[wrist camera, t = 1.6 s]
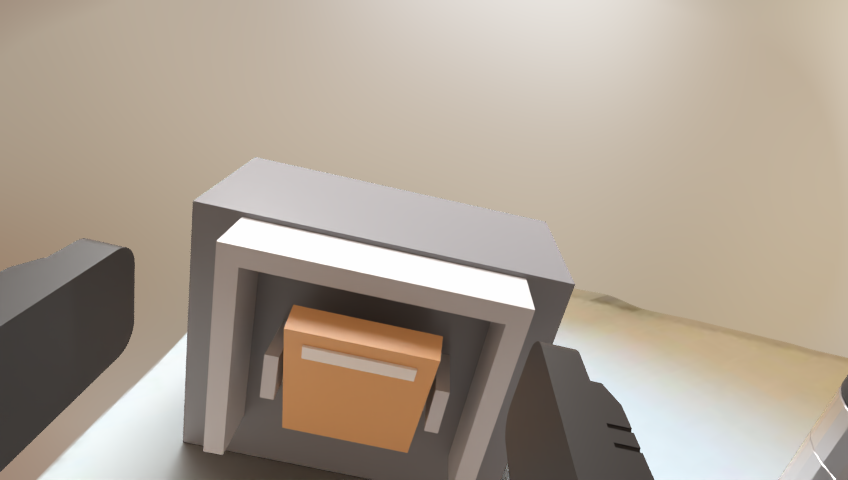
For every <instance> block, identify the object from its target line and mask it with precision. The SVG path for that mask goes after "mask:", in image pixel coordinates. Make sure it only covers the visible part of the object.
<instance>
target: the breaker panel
mask: <svg viewBox="0 0 848 480" xmlns="http://www.w3.org/2000/svg"><path fill="white" fill-rule="evenodd" d="M191 237H192V238H191V260H190V285H189V309H188V333H187V357H186V381H185V405H184V430H183V442H186V443H191V444H196V445H201V446H204V447H203V451H204V452H209V453H214V454H219V455H223V454H224V452H225V450H226V451H231V452H236V453H241V454H246V455H251V456H256V457H261V458H266V459H271V460H276V461H281V462H286V463H291V464H296V465H301V466H306V467H311V468H316V469H321V470H326V471H331V472H336V473H341V474H346V475H351V476H356V477H361V478H366V479H371V480H501V479H502V476H503V474H504V471H505V468H506V466H507V463H508V459H507V451H506V443H505V429H506V421H507V415H508V411H509V407H510V404H511V402H512V399H513V396H514V393H515V391H516V388H517V385H518V382H519V379H520V377H521V374H522V371H523V368H524V366H525V363H526V360H527V357H528V355H529V352H530V350H531V348H532V346H533V344H534V343H535V342H537V341H539V342H544V343H548V344H553V341H554V339H555V336H556V333H557V331H558V328H559V325H560V323H561V320H562V318H563V315H564V312H565V310H566V307H567V304H568V302H569V299H570V296H571V294H572V291H573V288H574V286H575V283H574V281H573V279H572V277H571V275H570V273H569V271H568V268H567V266H566V264H565V262H564V260H563V258H562V256H561V253H560V251H559V249H558V247H557V245H556V243H555V241H554V238H553V236H552V234H551V232H550V230H549V228H548V226H547V224H546V222H544V221H540V220H535V219H531V218H526V217H522V216H517V215H513V214H508V213H504V212H499V211H495V210H490V209H486V208H481V207H476V206H472V205H468V204H463V203H459V202H454V201H450V200H446V199H441V198H437V197H432V196H428V195H423V194H418V193H414V192H410V191H405V190H401V189H396V188H391V187H387V186H383V185H378V184H374V183H369V182H365V181H360V180H356V179H351V178H347V177H342V176H338V175H333V174H329V173H324V172H320V171H315V170H311V169H306V168H302V167H297V166H293V165H289V164H284V163H279V162H275V161H270V160H266V159H262V158H257V157H255V158H253V159H252V160H251V161H249V162H248V163H246V164H245V165H243V166H242V167H241V168H239V169H238V170H236V171H235V172H233V173H232V174H231V175H229V176H228V177H226V178H225V179H223V180H222V181H221V182H219V183H218V184H216V185H215V186H214V187H212V188H211V189H209V190H208V191H206V192H205V193H203V194H202V195H201V196H199V197H198V198H196V199H195V200H193V212H192V236H191ZM293 305H298V306H302V307H307V308H312V309H317V310H321V311H326V312H331V313H335V314H340V315H345V316H350V317H354V318H359V319H364V320H368V321H373V322H378V323H382V324H387V325H392V326H397V327H401V328H406V329H411V330H415V331H420V332H425V333H430V334H434V335H439V336H443V341H442V350H441V359H440V364H439V366H438V369H437V372H436V375H435V377H434V380H433V383H432V386H431V389H430V391H429V394H428V397H427V400H426V404H425V408H424V411H422V414H421V416H420V419H419V422H418V425H417V428H416V430H415V433H414V436H413V439H412V442H411V444H410V447H409V450H408V453H405V452H400V451H395V450H390V449H385V448H380V447H376V446H371V445H366V444H361V443H356V442H351V441H346V440H341V439H336V438H331V437H326V436H321V435H316V434H311V433H307V432H302V431H297V430H292V429H287V428H282V411H283V382H282V378H283V346H284V327H285V324H286V322H287V319H288V317H289V314H290V312H291V309H292V307H293Z"/></svg>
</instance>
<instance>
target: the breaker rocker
mask: <svg viewBox="0 0 848 480" xmlns="http://www.w3.org/2000/svg"><path fill="white" fill-rule="evenodd" d="M442 341H443V336H439V335H434V334H430V333H425V332H420V331H415V330H411V329H406V328H401V327H397V326H392V325H387V324H382V323H378V322H373V321H368V320H364V319H359V318H354V317H350V316H345V315H340V314H335V313H331V312H326V311H321V310H317V309H312V308H307V307H302V306H298V305H293V307H292V309H291V312H290V314H289V317H288V319H287V322H286V324H285V327H284V346H283V378H282V382H283V411H282V428H287V429H292V430H297V431H302V432H307V433H311V434H316V435H321V436H326V437H331V438H336V439H341V440H346V441H351V442H356V443H361V444H366V445H371V446H376V447H380V448H385V449H390V450H395V451H400V452H405V453H408V450H409V447H410V444H411V442H412V439H413V436H414V433H415V430H416V428H417V425H418V422H419V419H420V416H421V414H422V411H424V408H425V404H426V400H427V397H428V394H429V391H430V389H431V386H432V383H433V380H434V377H435V375H436V372H437V369H438V366H439V364H440V359H441V350H442Z"/></svg>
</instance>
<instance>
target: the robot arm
mask: <svg viewBox="0 0 848 480" xmlns="http://www.w3.org/2000/svg"><path fill="white" fill-rule="evenodd" d="M134 269H135V263H134V256H133V253H132V251H131V250H130V249H129V248H126V247H122V246H117V245H112V244H109V243H104V242H100V241H95V240H91V239H85V238H83V239H80V240H77V241H76V242H74V243H72V244H70V245H68V246H66V247H65V248H63V249H61V250H59V251H57V252H56V253H54V254H52V255H50V256H49V257H47V258H41V259H37V260H34V261H31V262H27V263H23V264H20V265H16V266H12V267H9V268H7V269H5V270H3V271H1V272H0V472H1V471H2V470H3V469H4V468H5V467H6V466H7V465H8V464H9V463H10V462H11V461H12V460H13V459H14V458H15V457H16V456H17V455H18V454H19V453H20V452H21V451H22V450H23V449H24V448H25V447H26V446H27V445H28V444H30V443H31V442H32V441H33V440H34V439H35V438H36V437H37V435H39V434H40V433H41V432H42V431H43V430H44V429H45V428H46V427H47V426H48V425H49V424H50V423H51V422H52V421H53V420H54V419H55V418H56V417H57V416H58V415H59V414H60V413H61V412H62V411H63V410H64V409H65V408H67V407H68V406H69V405H70V404H71V403H72V402H73V401H74V400H75V399H76V398H77V397H78V396H79V395H80V394H81V393H82V392H83V391H84V390H85V389H86V388H87V387H88V386H89V385H90V384H91V383H92V382H93V381H94V380H95V379H96V378H97V377H98V376H99V375H100V374H101V373H103V371H105V369H107V368H108V367H109V366H110V365H111V364H112V363H113V362H114V361H115V360H116V359H117V358H118V357H119V356H120V355H121V353H122V352H123V351H124V349H125V348H126V346H127V344H128V342H129V339H130V337H131V334H132V331H133V326H134ZM631 429H632V428H631V426H630V424H629V421H628V419H627V417H626V415H625V412H624V410H623V408H622V406H621V404H620V403H619V402H618V401H617V400H616V399H615V398H614V397H613V396H612V394H611V393H610V392H609V391H608V390H607V389H606V388H605V387H604V386H603V384H602V383H597V382H593V381H590V379H589V377H588V374H587V372H586V369H585V366H584V364H583V361H582V359H581V356H580V354H579V352H578V351H577V350H575V349H570V348H566V347H561V346H557V345H553V344H548V343H544V342H539V341H537V342H535V343H534V344H533V346H532V348H531V350H530V352H529V355H528V357H527V360H526V363H525V366H524V368H523V371H522V374H521V377H520V379H519V382H518V385H517V388H516V391H515V393H514V396H513V399H512V402H511V404H510V407H509V411H508V415H507V421H506V429H505V443H506V451H507V459H508V467H509V476H510V480H654V478H653V476H652V474H651V471H650V469H649V467H648V464H647V462H646V460H645V458H644V455H643V453H640V446H639V444H638V442H637V440H636V437H635V435H634V433H631ZM778 480H848V375H847V377H846V378H845V380H844V381H843V383H842V385H841V387H840V388H839V389H838V391H837V392H836V394H835V395H834V397H833V398H832V400H831V401H830V403H829V404H828V406H827V407H826V409H825V410H824V412H823V413H822V414H821V416H820V417H819V419H818V420H817V422H816V423H815V425H814V426H813V428H812V429H811V431H810V433H809V434H808V436H807V437H806V439H805V440H804V442H803V443H802V445H801V446H800V448H799V449H798V451H797V452H796V454H795V455H794V457H793V458H792V460H791V461H790V463H789V464H788V466H787V467H786V469H785V470H784V472H783V473H782V475H781V476H780V478H779V479H778Z"/></svg>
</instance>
